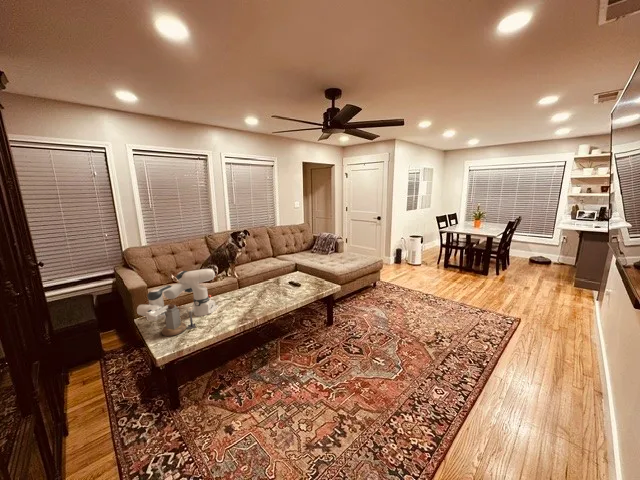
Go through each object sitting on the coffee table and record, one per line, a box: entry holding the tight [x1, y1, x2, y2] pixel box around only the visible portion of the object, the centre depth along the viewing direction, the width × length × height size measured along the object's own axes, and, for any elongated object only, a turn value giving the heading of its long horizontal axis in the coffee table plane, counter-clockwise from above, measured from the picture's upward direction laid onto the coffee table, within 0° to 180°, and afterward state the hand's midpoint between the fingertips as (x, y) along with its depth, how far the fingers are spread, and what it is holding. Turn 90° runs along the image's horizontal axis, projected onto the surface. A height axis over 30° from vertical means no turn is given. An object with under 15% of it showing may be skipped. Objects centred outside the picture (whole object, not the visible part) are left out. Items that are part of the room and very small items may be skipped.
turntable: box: [161, 321, 187, 337], centre depth 198 cm, size 16×16×3 cm
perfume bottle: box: [164, 303, 182, 330], centre depth 196 cm, size 7×7×18 cm
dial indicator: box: [186, 305, 196, 330], centre depth 203 cm, size 5×5×17 cm
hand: (171, 313), depth 196 cm, fingers open, 8 cm apart
